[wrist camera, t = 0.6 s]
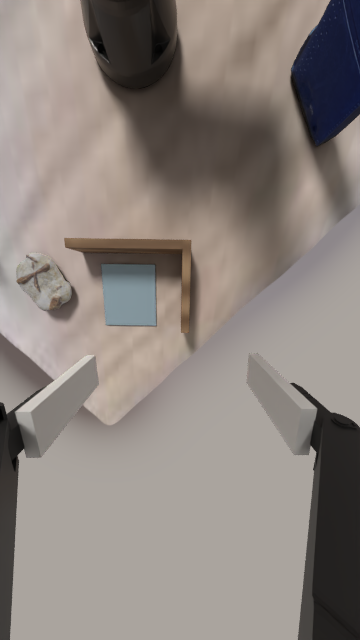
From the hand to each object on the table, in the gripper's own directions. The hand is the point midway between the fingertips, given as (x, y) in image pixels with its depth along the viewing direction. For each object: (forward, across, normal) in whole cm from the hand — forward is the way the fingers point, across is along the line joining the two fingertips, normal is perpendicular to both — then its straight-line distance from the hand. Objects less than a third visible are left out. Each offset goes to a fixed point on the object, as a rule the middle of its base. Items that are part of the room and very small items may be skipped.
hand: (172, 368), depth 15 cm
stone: (+28, -30, +3) cm, 41 cm away
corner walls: (+27, -11, +5) cm, 30 cm away
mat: (+27, -11, +4) cm, 30 cm away
